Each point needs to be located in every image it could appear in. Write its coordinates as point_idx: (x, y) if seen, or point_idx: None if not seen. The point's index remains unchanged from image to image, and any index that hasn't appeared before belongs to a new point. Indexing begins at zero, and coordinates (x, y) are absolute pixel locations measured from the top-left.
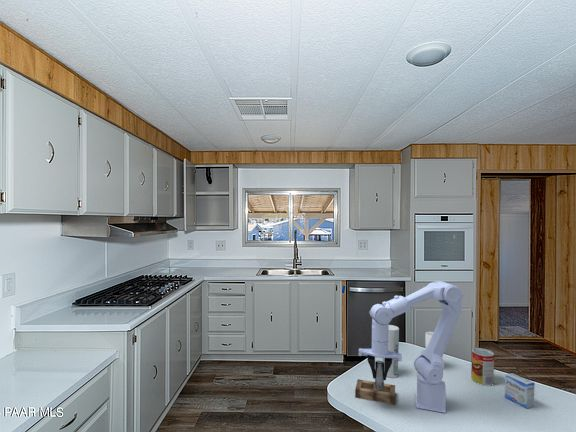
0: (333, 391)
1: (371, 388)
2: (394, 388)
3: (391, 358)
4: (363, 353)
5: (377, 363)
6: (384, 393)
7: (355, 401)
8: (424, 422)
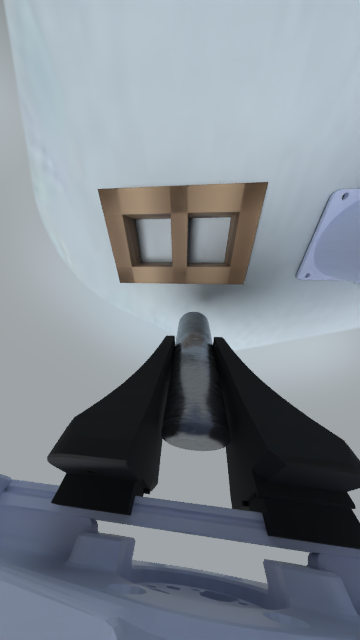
0: (69, 264)
1: (165, 216)
2: (255, 223)
3: (333, 548)
4: (15, 521)
5: (178, 445)
6: (210, 279)
7: (136, 295)
8: (286, 328)
